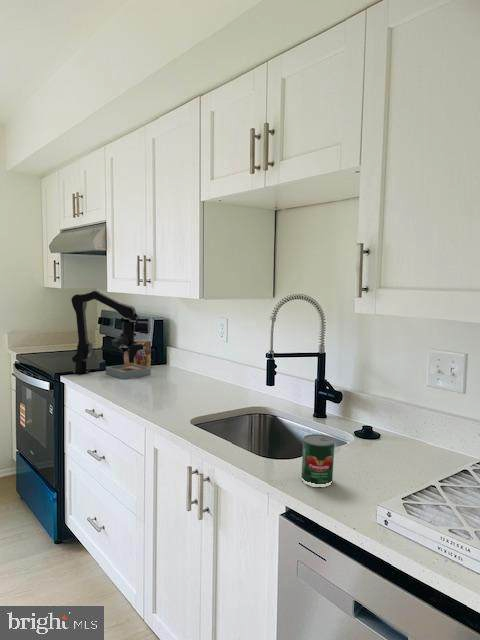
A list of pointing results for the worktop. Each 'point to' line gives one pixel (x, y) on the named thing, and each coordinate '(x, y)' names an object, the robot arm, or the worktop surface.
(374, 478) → the worktop surface
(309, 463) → the canned tomato
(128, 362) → the peg
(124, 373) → the bin
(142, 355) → the candy box
